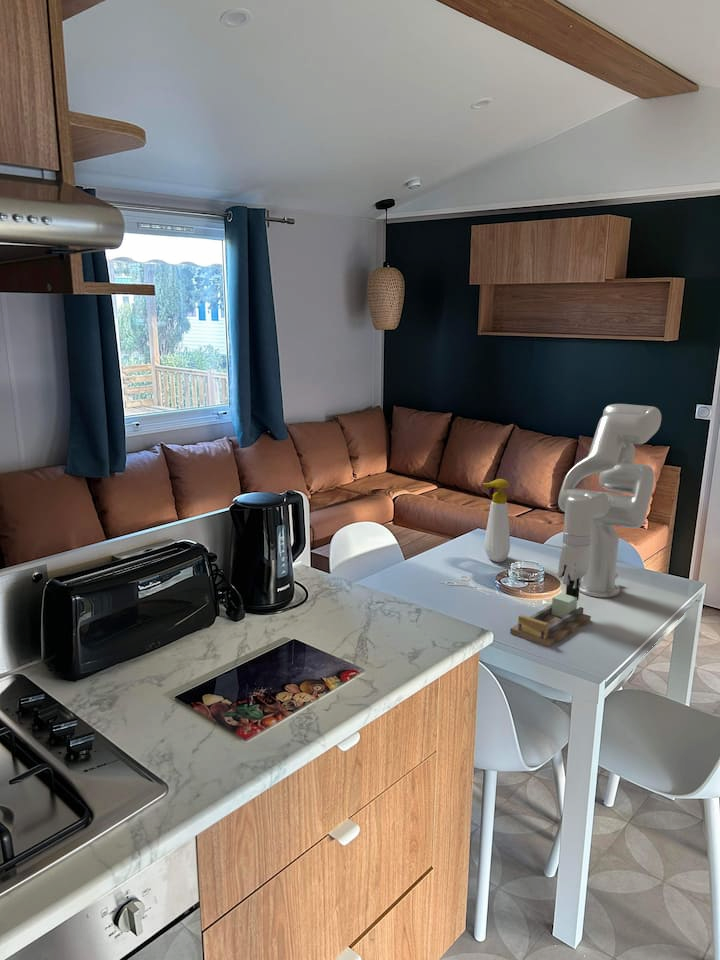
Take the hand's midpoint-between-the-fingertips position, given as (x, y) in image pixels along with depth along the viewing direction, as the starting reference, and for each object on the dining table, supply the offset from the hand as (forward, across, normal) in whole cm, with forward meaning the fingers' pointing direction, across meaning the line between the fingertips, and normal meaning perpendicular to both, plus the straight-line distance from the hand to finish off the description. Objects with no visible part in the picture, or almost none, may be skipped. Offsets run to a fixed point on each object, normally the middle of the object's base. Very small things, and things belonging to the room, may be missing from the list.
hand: (571, 599), depth 213 cm
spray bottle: (+5, -26, -43) cm, 50 cm away
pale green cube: (+3, +4, 0) cm, 5 cm away
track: (+5, +11, 0) cm, 12 cm away
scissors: (+6, +1, -33) cm, 33 cm away
